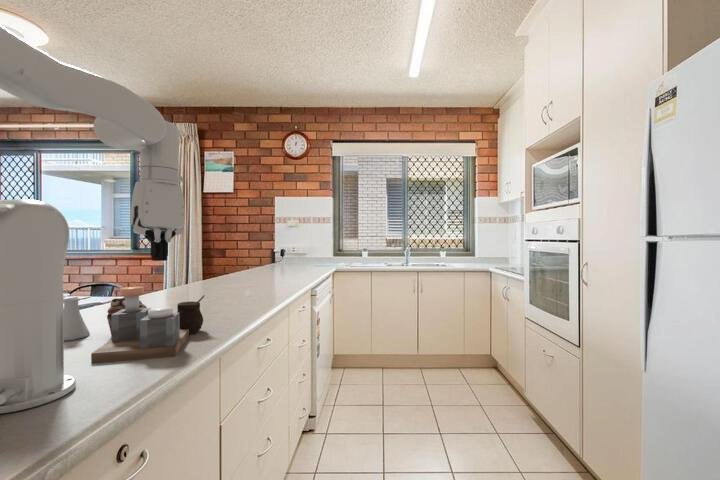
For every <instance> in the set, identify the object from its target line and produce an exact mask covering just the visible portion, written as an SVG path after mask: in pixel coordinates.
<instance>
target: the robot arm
mask: <svg viewBox="0 0 720 480" xmlns="http://www.w3.org/2000/svg"><path fill="white" fill-rule="evenodd" d="M0 90H2V91H4V92H7V93H8V94H10V95H12V96H14V97H15V98H18V99H20V100H21V101H24V102H25V103H28V104H30V105H34V106H35V107H41V108H45V109H49V110H56V111H61V112H62V111H63V112H71V113H72V112H73V113H80V114H85V115H88V116H92V117H95V119H94V121H93V125H92V126H93V131H94V134H95V136H96V138H97V139H98V140H99V141H100V142H102V143H103V144H104V145H106V146H108V147H110V148H113V149H117V150H126V151H127V150H128V151H136V152H140V154H139V181H136V182H135V184H134V188H133V192H132V197H131V202H130V203H131V204H130V215H129V216H130V217H129V218H130V225H131V226H132V227H133V229H132V232H133V233H134V234H138V235H141V236H144V237H145V238H146V239H147V241H148V243H150V257H151V261H156V262H157V261H158V262H163V261H167V260H168V256H169V243H170V242H171V240H172V239H173V238H174V237H175V236H179V235H183V233H184V227H185V223H186V218H185V217H186V216H185V215H186V214H185V212H186V209H185V202H184V199H185V198H184V195H183V189H182V186H181V185H180V183H182V182H183V180H184V177H183V176H180V171H179V170H180V169H179V168H180V130H179V128H178V126H177V125H175V124H174V123H172V122H170V121H167V120H165V118H164V117H163V115H162V114H161V112H160V111H159V110H158V109H157V108H156V107H155V106H154V105H152V104H151V103H150V102H148V101H147V100H146V99H144V97H141V96H140V95H138V94H137V93H135V92H133V90H131V89H129V88H127V87H125V86H124V85H122V84H120V83H118V82H115V81H113V80H110V79H109V78H106V77H103V76H100V75H97V74H95V73H92V72H91V71H90V72H89V71H87V70H84V69H81V68H80V67H76V66H73V65H70V64H67V63H64V62H61V61H60V60H57V59H56V58H54V57H52V56H50V54H48V53H47V52H44V51H43V50H41V49H39V48H38V47H36V46H35V45H33V44H32V43H30V42H28V41H27V40H25V39H23V38H22V37H21V36H18V35H17V34H16V33H14V32H12V31H11V30H9V29H7V28H6V27H5V26H3V25H1V24H0ZM69 240H70V226H69V224H68V220H67V219H66V218H65V216H64V215H63V214H62V212H61V211H60V210H58V209H57V208H56V207H54V206H53V205H52V204H50V203H47V202H46V201H45V202H44V201H41V200H36V199H30V198H18V199H15V198H14V199H3V200H2V199H1V198H0V415H2V414H7V413H14V412H18V411H22V410H23V411H24V410H28V409H31V408H35V407H39V406H42V405H45V404H48V403H50V402H53V401H55V400H57V399H60V398H62V397H64V396H65V395H67V394H70V392H71V391H74V389H75V387H76V378H75V377H73V376H72V375H68V374H65V373H64V371H65V366H64V365H65V362H64V360H65V359H64V357H65V356H64V355H65V352H64V351H65V350H64V347H65V342H64V325H63V311H64V302H63V299H64V269H65V262H66V256H67V251H68V247H69V242H70V241H69Z"/></svg>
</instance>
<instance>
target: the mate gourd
mask: <svg viewBox="0 0 720 480" xmlns="http://www.w3.org/2000/svg"><path fill="white" fill-rule="evenodd" d="M205 296H206V295H203V296H202V297H200V299H198V300H197V301H181V302H179V303H177V305H176V307H177V312H176V313H180V330H183V329H189V335H192V334H193V335H194V334H196V333H199V331H200V330H201V329H202V326H203V323H204V317H203V314H202V312H201V301H202V300H203V299H204V297H205Z"/></svg>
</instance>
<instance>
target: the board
mask: <svg viewBox="0 0 720 480" xmlns="http://www.w3.org/2000/svg"><path fill="white" fill-rule="evenodd" d="M149 309H152V308H151V307H147V308H139V312H133V313H125V309H121V310H120V311H118V312H116V313H114V314H112V315H111V327H112V336H111V339H110V340H108V341H107V342H106V343H104V344H103V345H101V346H100V347H98V348H97V349H95V350H94V351H92V352H91V353H90V354H91V355H90V356H91V361H90V362H91V364H98V363H107V362H108V363H109V362H111V363H113V362H121V361H134V360H144V359H145V360H147V359H157V358H170V357H172V358H173V357H176V356H177V354H178V353H179V352H180V350H181V349H182V348H183V346H184V345H185V343H186V342H187V340H188V339H189V338H190V334H189V329H183V330H180V313H177V312H173V315H172V316H169V317H168V318H149V317H148V310H149Z"/></svg>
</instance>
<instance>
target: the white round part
mask: <svg viewBox="0 0 720 480" xmlns="http://www.w3.org/2000/svg"><path fill="white" fill-rule="evenodd" d="M173 313H174V307H171V306H161V307H154V308H151V309H149V310H148V317H149V318H168V317H169V316H172V315H173Z"/></svg>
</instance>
